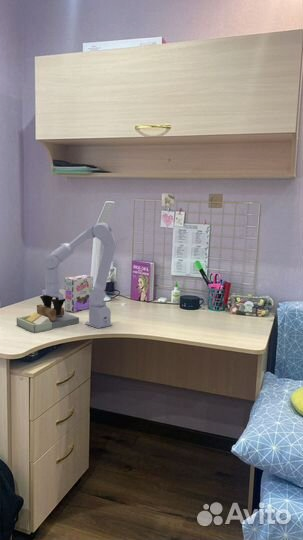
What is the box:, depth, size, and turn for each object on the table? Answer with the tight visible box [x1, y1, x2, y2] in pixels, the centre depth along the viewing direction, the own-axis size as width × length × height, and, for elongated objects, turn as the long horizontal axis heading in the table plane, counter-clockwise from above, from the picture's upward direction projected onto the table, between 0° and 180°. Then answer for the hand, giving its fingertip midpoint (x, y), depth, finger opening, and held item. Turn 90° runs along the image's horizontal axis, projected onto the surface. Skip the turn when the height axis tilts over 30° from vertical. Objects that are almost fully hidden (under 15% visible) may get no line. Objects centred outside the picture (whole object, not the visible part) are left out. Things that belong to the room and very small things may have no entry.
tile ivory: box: [33, 315, 50, 325], centre depth 179 cm, size 5×5×2 cm
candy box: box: [64, 274, 94, 314], centre depth 210 cm, size 14×6×16 cm, turn 143°
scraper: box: [36, 304, 65, 321], centre depth 186 cm, size 12×9×4 cm
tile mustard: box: [26, 312, 42, 324], centre depth 183 cm, size 5×5×2 cm
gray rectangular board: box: [16, 311, 80, 334], centre depth 185 cm, size 15×22×3 cm
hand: (52, 313), depth 185 cm, fingers open, 7 cm apart
